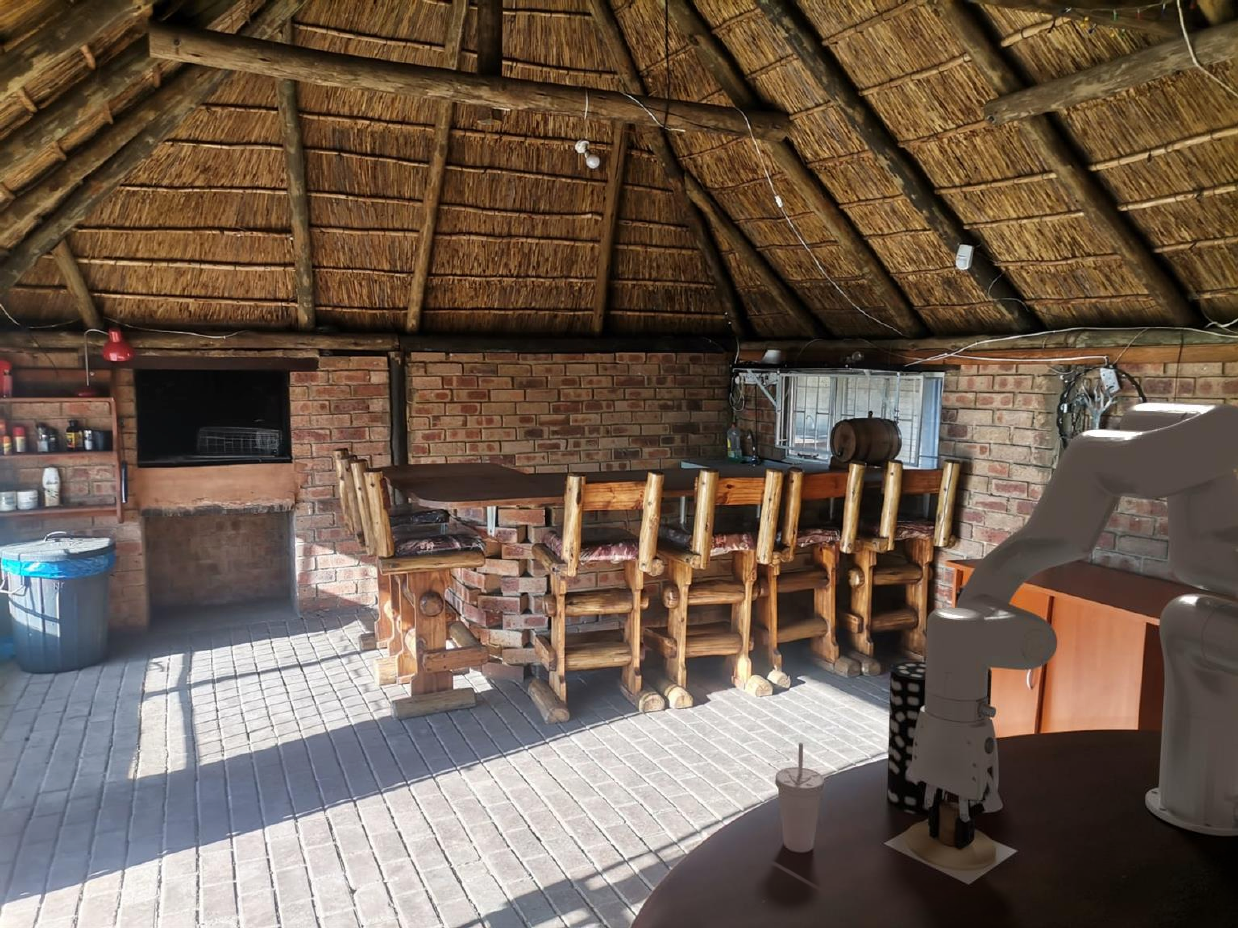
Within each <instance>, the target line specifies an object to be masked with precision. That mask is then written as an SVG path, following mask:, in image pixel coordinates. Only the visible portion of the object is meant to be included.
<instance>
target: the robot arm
mask: <svg viewBox="0 0 1238 928" xmlns="http://www.w3.org/2000/svg"><path fill="white" fill-rule="evenodd" d="M1237 468H1238V406H1237V405H1233V404H1229V403H1223V402H1222V403H1221V402H1220V403H1219V402H1188V401H1149V402H1142V403H1138V404H1135V405H1133V406H1131V407H1129V408H1128V409H1126V410H1125V412H1124V413H1123V414H1122V415H1121V418H1120V420H1119V429H1112V428H1110V429H1109V428H1100V429H1098V428H1097V429H1090V430H1089V429H1088V430H1085V431H1082V432H1080V433H1079V434H1077V435H1075V437H1073V438H1072V439H1071V440H1070V442H1069V443H1068V445H1067V446H1066V448H1065V450H1064V451H1063V454H1062V455H1061V457H1060V459H1059V461H1058V463H1057V465H1056V466H1055V468H1054V471H1053V473H1052V475H1051V477H1050V479H1049V480H1048V483H1047V485H1046V486H1045V488H1044V489H1043V492H1042V494H1041V496H1040V498H1039V500H1038V502H1037V503H1036V505H1035V507H1034V509H1033V510H1032V512H1031V514H1030V517H1029V518H1028V520H1027V521H1026V523H1025V524H1024V525H1023V526H1022V527H1021V528H1020V529H1019V530H1017V531H1016V532H1014V533H1012V534H1011V535H1010V536H1008V537H1006V538H1005V539H1004V540H1003V541H1002V542H1000V543H999V544H998V545H997V546H996V547H994V548H993V549H992V550H990V551H989V552H988V553H987V554H986V555H985V556H984V557H983V558H982V559H981V560H980V561H979V562H978V563H977V565H976V566H975V567H974V569H973V571H972V572H971V574H970V576H969V577H968V579H967V581H966V583H965V587H964V589H963V591H962V593H961V595H960V597H959V599H958V601H957V604H956V603H955V606H954V607H950V606H949V607H941V608H936V609H933V610H932V611H931V612H930V613H929V615H928V616H927V620H926V639H925V642H926V644H925V645H926V646H925V663H926V670H925V703H924V706H923V707H921V709H920V712H919V716H918V719H917V723H916V729H915V734H914V742H913V752H912V763H911V764H910V766H909V767H908V769H907V770H906V775H907V776H908V777H909V778H910V779H911V780H912V781H913V782H914V783H915V784H917V787H918V789H919V790H920V792H921V793H922V795H923V796H924V798H925V804H926V805H927V806H928V807H929V811H928V815H927V817H928V818H927V819H928V825H929V826H930V828H929V836H930V837H933V838H936V837H937V836H939V805H940V803H942V802H944V800H943V799H944V793H945V791H947V793H949V794H952V795H955V796H957V797H958V804H959V808H960V817H959V818H957V819H956V824H955V847H956V848H957V849H959V850H961V849H963V848H964V847H966V846H968V845H969V844H971V843H972V842H973V840H974V837H975V829H976V817H978V816H980V815H981V814H983V813H995V812H998V811H1000V810H1001V809H1002V808H1003V807H1004V805H1003V801H1002V800H1001V798H1000V795H999V792H998V789H999V778H1000V777H999V776H1000V775H999V756H998V755H999V753H998V752H999V751H998V743H997V735H996V731H995V727H994V726H995V725H994V722H993V720H992V719H991V718H994V717H996V714H997V708H996V707H994V706H991V705H989V704H988V697H987V681H988V669H989V668H990V669H991V668H994V669H995V668H996V669H1006V670H1016V671H1029V670H1034V669H1035V670H1036V669H1038V668H1040V667H1042V666H1044V665H1046V664H1047V663H1048V662H1049V661H1050V660H1052V658H1053V657H1054V656H1055V654H1056V652H1057V649H1058V637H1057V634H1056V632H1055V629H1054V628H1053V626H1052V625H1051V623H1049V622H1048V621H1047V620H1046V619H1044V618H1043V617H1042V616H1040V615H1038V614H1036V613H1034V612H1031V611H1028V610H1026V609H1023V608H1022V607H1018V606H1015V605H1014V604H1010V603H1011V601H1012V599H1013V597H1014V595H1015V594H1016V593H1017V592H1018V590H1019V589H1020V588H1021V586H1023V585H1024V583H1026V581H1028V580H1030V578H1032V577H1034V575H1036V574H1038V573H1041V572H1043V571H1045V570H1047V569H1051V568H1053V567H1057V566H1061V565H1064V564H1068V563H1071V562H1075V561H1079V560H1081V559H1084V558H1087V557H1088V556H1090V555H1091V554H1092V553H1093V552H1094V550H1095V549H1096V547H1097V544H1098V543H1099V541H1100V538H1101V537H1102V534H1103V533H1104V530H1105V528H1106V527H1107V524H1108V523H1109V521H1110V519H1111V517H1112V516H1113V513H1114V511H1115V509H1116V507H1117V505H1118V504H1119V503H1120V501H1121V498H1122V497H1126V498H1132V499H1137V500H1144V501H1146V500H1149V501H1152V500H1153V501H1154V500H1159V499H1166V505H1167V506H1166V507H1167V508H1166V509H1167V527H1168V529H1167V530H1168V531H1167V532H1168V533H1167V534H1168V553H1169V554H1168V556H1169V564H1170V568H1171V571H1172V573H1173V575H1174V576H1175V577H1176V578H1177V579H1178V580H1179V581H1181V582H1182V583H1184V584H1186V585H1189V586H1192V587H1195V588H1198V589H1202V590H1205V591H1210V592H1213V593H1217V594H1220V595H1221V594H1222V595H1224V596H1229V597H1232V598H1236V599H1238V477H1237V474H1236V472H1235V470H1236V469H1237ZM1158 628H1159V630H1158V631H1159V639H1160V644H1161V650H1162V656H1163V666H1164V667H1163V668H1164V687H1163V688H1164V691H1163V692H1164V693H1163V707H1162V708H1163V709H1162V726H1161V742H1160V744H1161V745H1160V759H1159V779H1158V781H1159V782H1158V787H1154V788H1152V789H1150V790H1149V791H1148V792H1146V794H1145V805H1146V808H1147V809H1148V810H1149V811H1150V812H1151V813H1152V814H1153V815H1155V816H1156V817H1158V818H1159V819H1161V820H1162V821H1165V822H1166V823H1169V824H1172V825H1173V826H1175V827H1176V826H1177V827H1179V828H1182V829H1185V830H1188V831H1191V832H1195V833H1199V834H1204V835H1209V836H1220V837H1234V836H1238V602H1237V601H1234V600H1233V601H1232V600H1229V599H1225V598H1221V597H1217V596H1214V595H1208V594H1202V593H1189V594H1187V593H1186V594H1183V595H1179V596H1177V597H1175V598H1172V600H1170V601H1169V602H1168V603H1167V604H1166V606H1164V608H1163V610H1162V612H1161V614H1160V617H1159V623H1158ZM986 717H990V719H989V718H986ZM983 797H984V798H985V800H983Z"/></svg>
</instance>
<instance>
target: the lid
mask: <svg viewBox="0 0 1238 928" xmlns="http://www.w3.org/2000/svg"><path fill="white" fill-rule="evenodd" d="M959 817H960V808H959V802H958V803H957V802H954V801H947V802H942V803H940V805H939V836H937V837H936V838H933V837H930V836H929V828H930V826H929V825H928V821H925V820H924V821H920V822H916V823H914V824H913V825H911V826H910V827H909V828H908V829H907V830H908V831H907V830H906V831H907V845H908V847H909V848H910V850H911V851H912V852H913V853H914V854H916V855H917V856H918V857H920V858H921V859H923V860H925V861H927V862H929V863H932V864H934V865H937V866H941V867H944V868H949V869H955V870H978V869H982V868H985V867H988V866H989V865H991V864H992V863H993V862H994V861H995V858H996V847H995V845H994V843H993V842H992V840H993V839H991V838H990V837H989V836H987V834H985V833H984V832H982V831H980V830H978V829H976V828H975V837H974V840H973V842H972V843H971V844H969V845H968V846H966V847H964V848H963V849H961V850H959V849H957V848H956V847H955V824H956V819H957V818H959Z"/></svg>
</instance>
